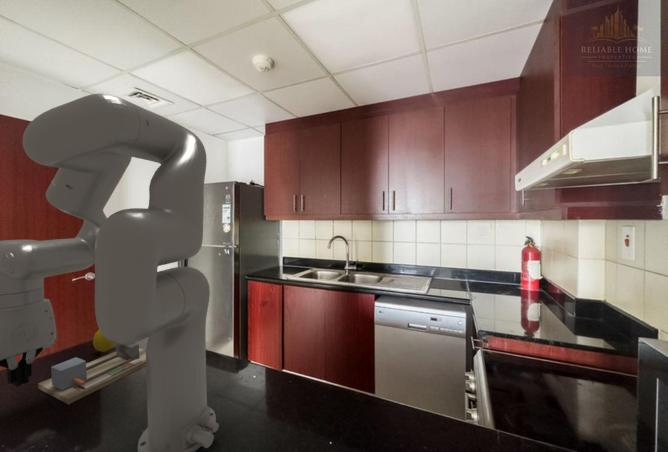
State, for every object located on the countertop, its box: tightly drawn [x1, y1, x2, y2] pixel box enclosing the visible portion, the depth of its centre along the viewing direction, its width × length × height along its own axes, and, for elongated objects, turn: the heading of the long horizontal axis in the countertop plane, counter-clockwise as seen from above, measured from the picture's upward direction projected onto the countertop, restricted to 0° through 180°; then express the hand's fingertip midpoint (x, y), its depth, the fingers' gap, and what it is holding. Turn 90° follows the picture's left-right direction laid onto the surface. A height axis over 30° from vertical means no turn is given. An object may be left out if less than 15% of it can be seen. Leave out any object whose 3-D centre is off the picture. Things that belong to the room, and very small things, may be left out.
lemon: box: [92, 329, 116, 353], centre depth 79 cm, size 6×6×8 cm
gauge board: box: [37, 342, 146, 405], centre depth 69 cm, size 14×20×5 cm
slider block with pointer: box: [50, 356, 87, 390], centre depth 62 cm, size 8×4×4 cm, turn 67°
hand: (19, 382), depth 55 cm, fingers closed
